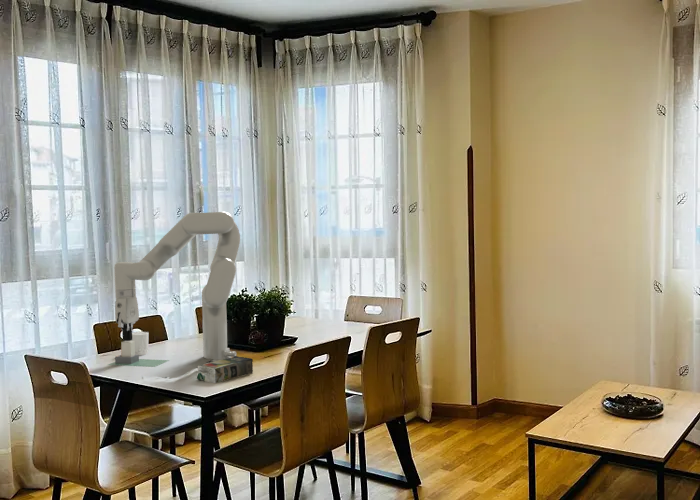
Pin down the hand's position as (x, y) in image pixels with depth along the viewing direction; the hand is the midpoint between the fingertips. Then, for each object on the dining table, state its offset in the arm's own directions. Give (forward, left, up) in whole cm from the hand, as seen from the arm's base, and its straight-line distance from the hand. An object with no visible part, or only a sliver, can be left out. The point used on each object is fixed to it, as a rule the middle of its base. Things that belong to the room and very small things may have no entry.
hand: (127, 340), depth 274 cm
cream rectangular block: (0, 0, -9) cm, 9 cm away
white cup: (+4, -16, -10) cm, 19 cm away
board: (-5, 0, -10) cm, 11 cm away
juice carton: (-45, +10, -11) cm, 47 cm away
